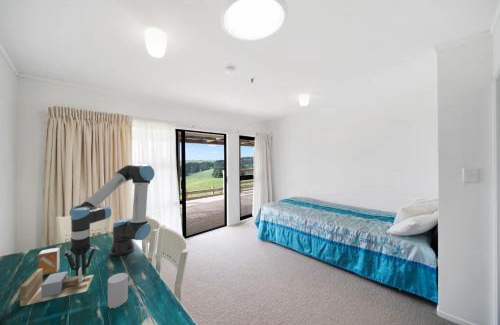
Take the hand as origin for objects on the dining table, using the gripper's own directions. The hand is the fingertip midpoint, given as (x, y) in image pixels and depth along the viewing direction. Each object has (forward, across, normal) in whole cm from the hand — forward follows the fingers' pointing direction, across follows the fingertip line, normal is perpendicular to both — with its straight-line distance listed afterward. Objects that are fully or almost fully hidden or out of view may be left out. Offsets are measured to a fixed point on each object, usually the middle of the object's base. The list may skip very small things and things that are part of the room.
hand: (80, 280), depth 107 cm
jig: (+3, +8, 0) cm, 8 cm away
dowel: (+2, +6, 0) cm, 6 cm away
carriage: (+2, +10, 0) cm, 10 cm away
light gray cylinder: (+4, -19, +22) cm, 29 cm away
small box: (+3, +20, -25) cm, 33 cm away
